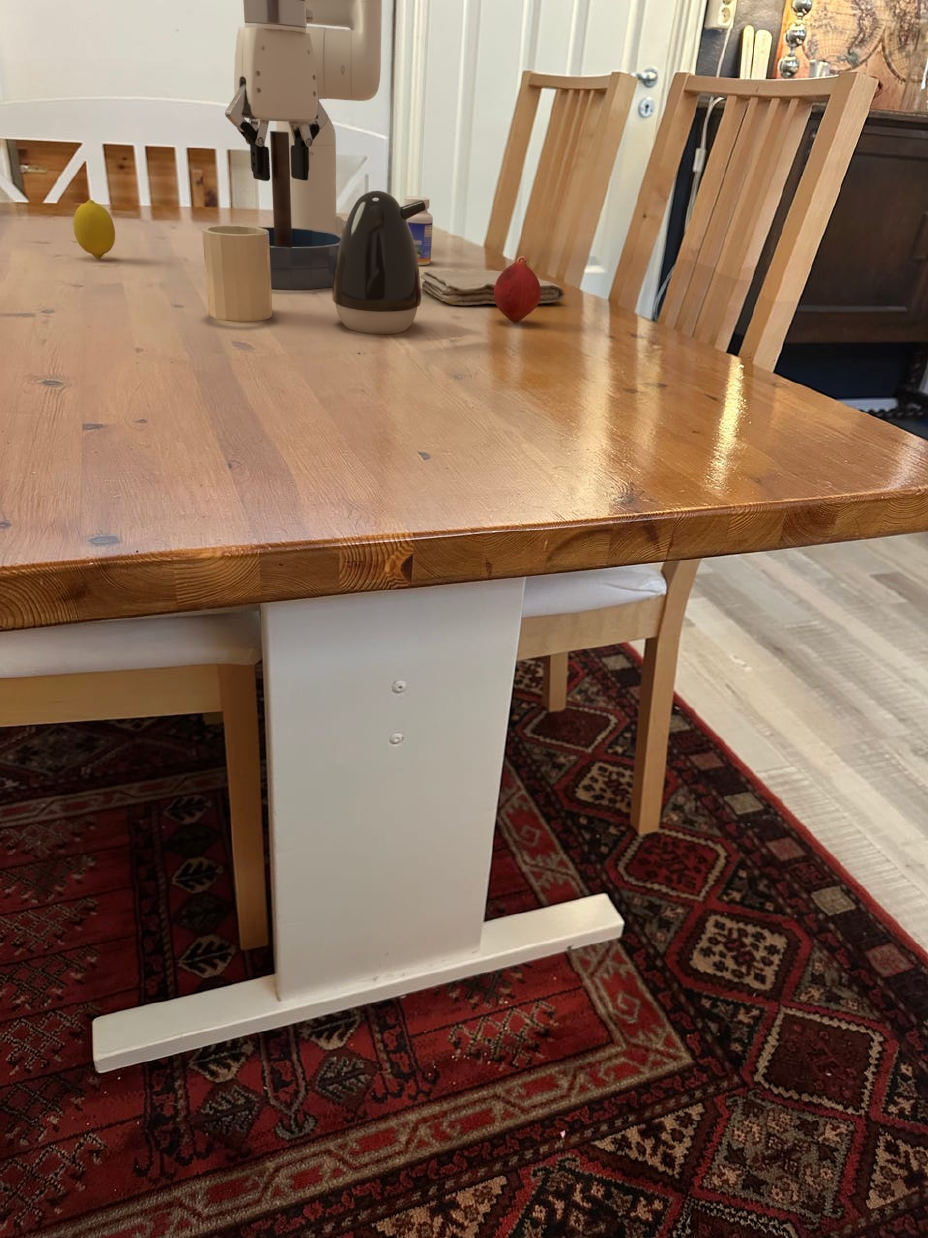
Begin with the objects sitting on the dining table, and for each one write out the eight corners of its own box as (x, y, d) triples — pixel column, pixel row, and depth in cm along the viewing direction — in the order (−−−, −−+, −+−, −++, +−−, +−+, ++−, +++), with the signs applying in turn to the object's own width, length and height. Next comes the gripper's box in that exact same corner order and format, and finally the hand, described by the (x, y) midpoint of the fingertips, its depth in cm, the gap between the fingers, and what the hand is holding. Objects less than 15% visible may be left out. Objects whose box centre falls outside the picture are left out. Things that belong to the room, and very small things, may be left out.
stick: (287, 274, 128) (282, 130, 118) (296, 277, 126) (292, 132, 117) (272, 275, 126) (266, 130, 117) (281, 278, 125) (276, 132, 116)
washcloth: (415, 288, 129) (416, 265, 127) (528, 287, 135) (530, 265, 133) (444, 307, 120) (445, 283, 118) (564, 305, 126) (567, 282, 124)
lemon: (110, 263, 130) (102, 203, 126) (72, 260, 130) (63, 200, 126) (123, 257, 135) (116, 198, 131) (86, 254, 135) (78, 195, 131)
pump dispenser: (428, 344, 102) (434, 198, 95) (336, 343, 100) (334, 193, 92) (414, 322, 111) (418, 187, 103) (329, 321, 109) (327, 182, 101)
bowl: (302, 266, 137) (301, 224, 134) (372, 288, 127) (372, 243, 124) (197, 275, 127) (193, 229, 124) (264, 300, 116) (261, 251, 113)
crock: (251, 311, 111) (246, 223, 105) (284, 324, 106) (280, 233, 101) (198, 317, 106) (190, 226, 101) (229, 330, 102) (223, 236, 97)
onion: (505, 329, 111) (511, 261, 107) (483, 318, 115) (488, 252, 111) (545, 327, 114) (552, 260, 110) (522, 316, 118) (528, 251, 114)
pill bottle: (391, 262, 145) (393, 196, 140) (406, 258, 150) (408, 194, 145) (422, 267, 144) (425, 200, 139) (436, 262, 148) (439, 197, 143)
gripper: (315, 22, 118) (318, 175, 128) (196, 9, 108) (209, 176, 117) (349, 23, 114) (349, 182, 123) (229, 9, 103) (239, 183, 113)
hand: (281, 177), depth 120 cm, fingers open, 5 cm apart
